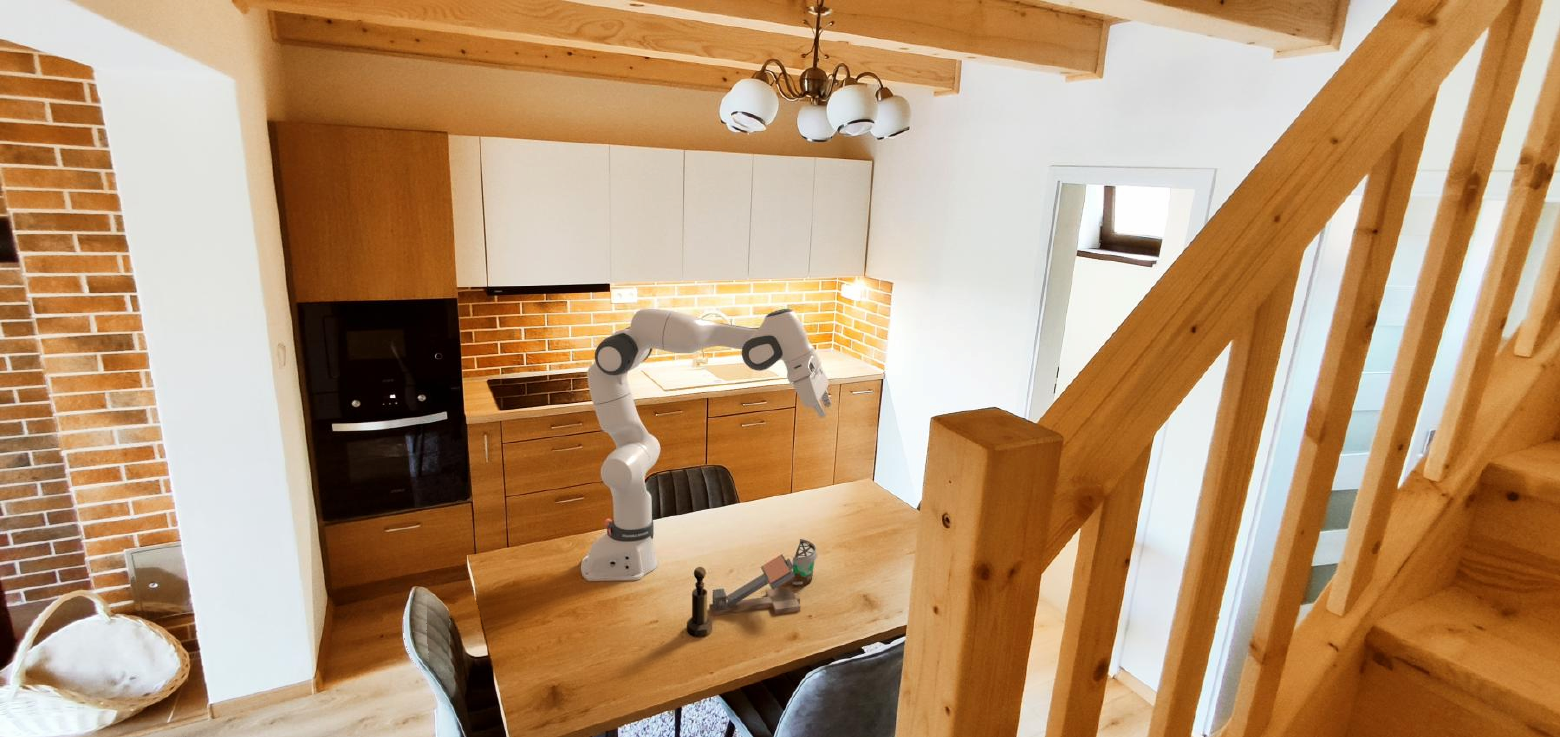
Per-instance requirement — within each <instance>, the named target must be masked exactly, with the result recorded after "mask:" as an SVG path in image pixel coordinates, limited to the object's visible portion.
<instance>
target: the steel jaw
mask: <svg viewBox="0 0 1560 737" xmlns="http://www.w3.org/2000/svg"><path fill="white" fill-rule="evenodd" d="M760 568H761V571H762V574H761V575H758V576H757V577H755V578H754V579H753V580H751V581H750V582H748V583H746V584H744V585H743V586H741V587H739V588H738V589H736V590H735V591H733V592H731V593H729V594H728V595H726V596H727V602H728V603H729V605H730V606H733V605H734V604H736V603H737V602H739V601H741V600H745V599H747V597H749V596H750V595H752V594H754V593H756V592H757V591H758V590H760V589H762V588H763V587H766V586H767V585H769V586H770V589H772V590H774V589H776V588H780V586H781V585H783V584H785V583H786V582H788V581H790V580H793V577H795V575H794V573H793V568H794V566H793V562H792V561H791V559H790V558H786V559H785V556H784V555H783V553H782V554H780V555H777V557H774V558H773V559H771V560H769V561H768V562H766V563H764V564H763V565H761V567H760Z"/></svg>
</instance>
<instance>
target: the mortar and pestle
mask: <svg viewBox="0 0 1560 737" xmlns="http://www.w3.org/2000/svg"><path fill="white" fill-rule="evenodd" d="M706 575H707V571H706V569H705V568H704V567H703V566H697V567H695V569H694V571H693V576H694V577H695V579H696V582H695V589H693V590H692V593H691V603H692V604H691V618H690V617H689V619H688V620H687V622H686V632H687V634H688V635H689V636H691V637H693V638H704V637H707V636H708V635H710V634H711V633H712V632H713V621H712V619H711V618H710V617H709V616H708V591H707V589H705V582H704V578H705V577H706Z"/></svg>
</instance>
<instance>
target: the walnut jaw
mask: <svg viewBox="0 0 1560 737" xmlns="http://www.w3.org/2000/svg"><path fill="white" fill-rule="evenodd" d="M727 596H728V595H727V593H726V591H725V589H724V588H717V589H712V603H709V604H708V606H709V607H708V608H709V609H708V610H709V613H710V616H716V615H717V616H718V615H725V614H733V613H740V612H741V613H742V612H747V611H754V610H762V609H768V608H772V610H773V611H774V614H775V615H780V614H781V615H782V614H787V613H795V612H801V605H800V604H801V598H800V596H799V594H798V593H797V592H794V591H793V590H792V588H791V586H784V587H777V588H775V589H774V590H772V588H769V589H768V588H767V589H766V590H765V596H764V597H757V598H755V597H754V598H748V599H747V598H746V599H742V600H741V601H739V602H737V603H736V604H734V605H733V606H730V605H729V603H728V601H727Z"/></svg>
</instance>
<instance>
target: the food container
mask: <svg viewBox="0 0 1560 737" xmlns="http://www.w3.org/2000/svg"><path fill="white" fill-rule="evenodd" d="M817 558H818V551H817V547H816V546H815V544H814V543H813V542H812V541H810V540H807V539H804V538H800V539H799V544H798V546H797V549H796V553H795V555H794V556H793V557H792V564H793V566H794V568H793V569H792V572H793V573H794V575H795V577H793V578H792V582H791V583H792V587H794V588H798V587H799V588H801V587H805V586H808V585H811V583H812V581H813V574H814V566H815V561H816V559H817Z"/></svg>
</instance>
